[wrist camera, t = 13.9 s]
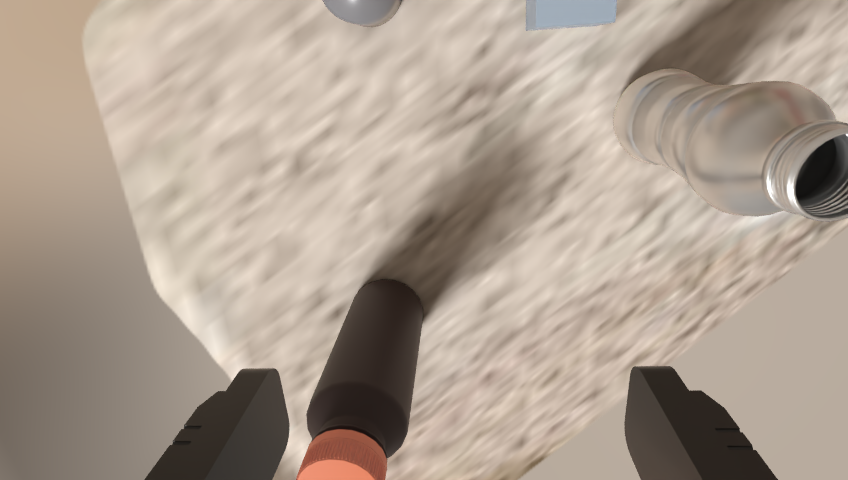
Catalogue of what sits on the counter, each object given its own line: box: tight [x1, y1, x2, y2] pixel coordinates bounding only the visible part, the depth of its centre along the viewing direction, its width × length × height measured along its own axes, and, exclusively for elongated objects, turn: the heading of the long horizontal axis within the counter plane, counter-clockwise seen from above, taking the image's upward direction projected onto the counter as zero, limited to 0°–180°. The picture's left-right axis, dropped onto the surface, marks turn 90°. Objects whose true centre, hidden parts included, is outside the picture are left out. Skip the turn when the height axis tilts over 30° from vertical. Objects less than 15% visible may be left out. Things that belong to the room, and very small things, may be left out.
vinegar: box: [296, 280, 423, 480], centre depth 36 cm, size 7×7×20 cm
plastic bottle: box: [613, 68, 848, 222], centre depth 27 cm, size 6×7×20 cm
